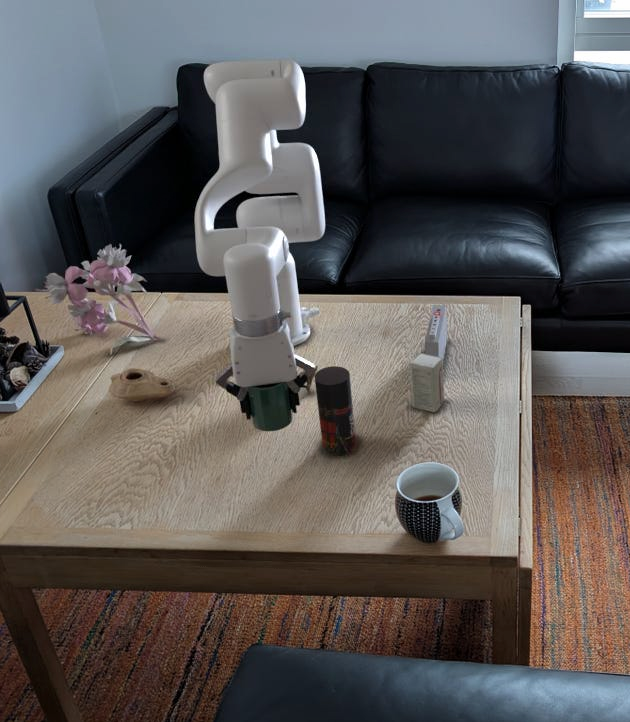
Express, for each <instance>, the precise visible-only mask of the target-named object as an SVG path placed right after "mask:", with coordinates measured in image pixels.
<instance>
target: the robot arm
mask: <svg viewBox="0 0 630 722" xmlns="http://www.w3.org/2000/svg"><path fill="white" fill-rule="evenodd" d="M203 83H204V86H205V89H206V92H207V95H208V96H209V98H210V100H211V101H212V102H213V103H214V104H215V116H216V131H217V145H218V160H219V168H218V170H217V171H216V173H214V175H213V176H212V177H211V178H210V180H208V182H207V183H206V184H205V186H204V187H203V189H202V191H201V193H200V195H199V198H198V200H197V202H196V206H195V210H194V235H195V251H196V259H197V262H198V265H199V268H200V269H201V270H202V271H203V272H204V274H206V275H208V276H212V277H225V281H226V287H227V292H228V298H229V305H230V310H231V315H232V316H231V317H232V322H233V325H232V326H231V327H230V328H229V349H230V359H231V362H230V363H229V364H228V365H227V366H226V367H225V368H224V369H223V370H222V371H220V373H218V375H216V377H215V383H216V385H218V386H219V387H221V388H222V389H224V390H225V391H226V392H227V393H228V394H230V395H232V396H233V397H235V398H236V399H237V400H238V401H239V407H240V411H241V414H245V417H246V421H248V420H249V421H250V420H252V419H251V412H250V406H249V400H248V395H247V391H248V387H250V386H259V385H267V384H274V383H281V382H287V385H288V386H289V389H290V398H291V405H292V412H293V414H297V407H298V406H301V402H300V394H299V393H300V391H301V389H302V386H303V385H305V384H307V380H308V378H309V377H310V376H311V375H312V373H313V372H314V371H315V368H316V366H315V364H314V363H312V362H310V361H309V360H307V359H305V358H303V357H302V356H300V355H298V354H296V352H295V348H294V347H295V346H297V345H300V344H302V343H304V342H305V341H306V340H307V339H308V338H309V337H310V335H311V328H310V325H309V324H308V323H307V322H309V319H311V318H314V317H316V316H318V315H320V311H319V308H318V307H316V306H313V307H311V308H309V309H307V307H306V306H302V307H301V304H300V303H301V302H300V295H299V288H298V279H297V271H296V262H295V260H294V257H293V255H292V253H291V252H290V244H292V243H307V242H315V241H318V240H320V239H321V238H323V236H324V234H325V230H326V218H325V217H326V215H325V205H324V196H323V189H322V188H323V186H322V177H321V170H320V169H321V168H320V163H319V159H318V156H317V153H316V152H315V149H314V148H313V146H311V145H310V144H308V143H304V142H285V143H280V142H279V141H278V138H277V137H278V135H277V131H281V130H282V131H283V130H284V131H285V130H286V131H287V130H296V129H299V128H301V127H302V126H303V124H304V122H305V118H306V112H307V111H306V110H307V109H306V107H307V103H306V100H307V99H306V82H305V77H304V73H303V70H302V68H301V66H300V65H299V63H297V62H296V61H293V60H290V59H289V60H287V59H276V60H275V59H273V60H271V59H270V60H232V61H231V60H230V61H221V62H216V63H211V64H209V65H208V66H207V67H206V68H205V70H204V72H203ZM243 192H246V193H249V194H255V195H256V194H257V195H271V194H287V193H288V194H289V193H296V194H295V195H281V196H280V195H274V196H273V195H272V196H259V197H253V198H249V199H246V200H244V201H242V202H241V203H240V204H239V205H238V207H237V209H236V212H235V213H236V214H235V217H236V218H235V219H236V225H237V227H231V228H229V227H228V228H217V229H215V227H214V226H215V219H216V216H217V213H218V211H219V210H220V209H221V208H222V206H223V205H225V203H227V202H228V201H229V200H231V199H233V198H234V197H236V196H237V195H239V194H241V193H243ZM297 367H298V368H300V369H302V371H301V372H299V373H298V370H297V369H298V368H297ZM297 373H298V374H297ZM297 375H298V376H297ZM232 376H233V380H234V382H233V381H230V380H229V379H230V378H231V377H232ZM296 376H297V377H296Z"/></svg>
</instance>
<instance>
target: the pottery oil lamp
mask: <svg viewBox="0 0 630 722" xmlns="http://www.w3.org/2000/svg"><path fill="white" fill-rule="evenodd" d="M110 381H111V383H110V385H109V387H108V392H109V394H110V395H111V396H112V397H114V398H117V399H122V400H127V401H129V402H134V403H136V402H143V401H146V400H148V399H152V398H161V397H166V396H169V395H171V394H173V392H174V391H175V389H176V387H175V384H174V382H173V381H171V380H169V379H166V378H163V377H160V376H157V375H155V374H154V373H153V372H151V371H150V370H147V369H142V368H135V367H134V368H128V369H126V370H124V371H123V372H121V373H120V372H118V373H115V374H113V375H111V376H110Z"/></svg>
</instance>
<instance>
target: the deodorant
mask: <svg viewBox="0 0 630 722" xmlns="http://www.w3.org/2000/svg"><path fill="white" fill-rule="evenodd" d="M349 371H350V370H348V369H347V368H346V367H342V366H339V365H337V366H336V365H333V366H326V367H323V368H321V369H319V370H317V371H316V373H315V376H314V382H315V392H316V393H315V394H316V400H317V401H316V402H317V408H318V418H319V419H318V420H319V427H320V435H321V443H322V450H323V451H324V452H325V453H326V454H327V455H330V456H335V457H336V456H337V457H338V456H340V457H341V456H344V455H347V454H350V453H352V452H353V451H354V450H355V448H356V446H357V440H356V431H355V418H354V408H353V396H352V395H353V394H352V385H351V374H350V372H349Z"/></svg>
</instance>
